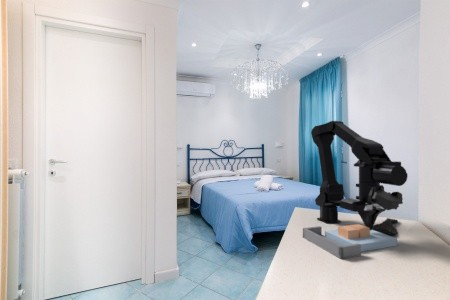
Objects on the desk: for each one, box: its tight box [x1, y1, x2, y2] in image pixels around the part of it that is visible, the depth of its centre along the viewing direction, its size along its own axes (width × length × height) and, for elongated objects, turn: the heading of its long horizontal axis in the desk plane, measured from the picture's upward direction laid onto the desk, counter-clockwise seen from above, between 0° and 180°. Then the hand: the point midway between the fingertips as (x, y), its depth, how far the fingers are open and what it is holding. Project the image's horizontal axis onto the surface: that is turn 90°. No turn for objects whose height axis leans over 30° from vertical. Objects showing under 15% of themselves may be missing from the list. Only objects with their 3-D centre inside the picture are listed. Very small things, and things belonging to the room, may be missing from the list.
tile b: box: [337, 225, 359, 239], centre depth 71 cm, size 4×4×2 cm
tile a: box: [348, 223, 370, 237], centre depth 72 cm, size 4×4×2 cm
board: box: [324, 228, 398, 252], centre depth 72 cm, size 12×16×2 cm
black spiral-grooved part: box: [372, 217, 398, 236], centre depth 85 cm, size 8×4×25 cm
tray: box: [302, 225, 362, 260], centre depth 69 cm, size 16×7×3 cm, turn 17°
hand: (369, 230), depth 73 cm, fingers closed
